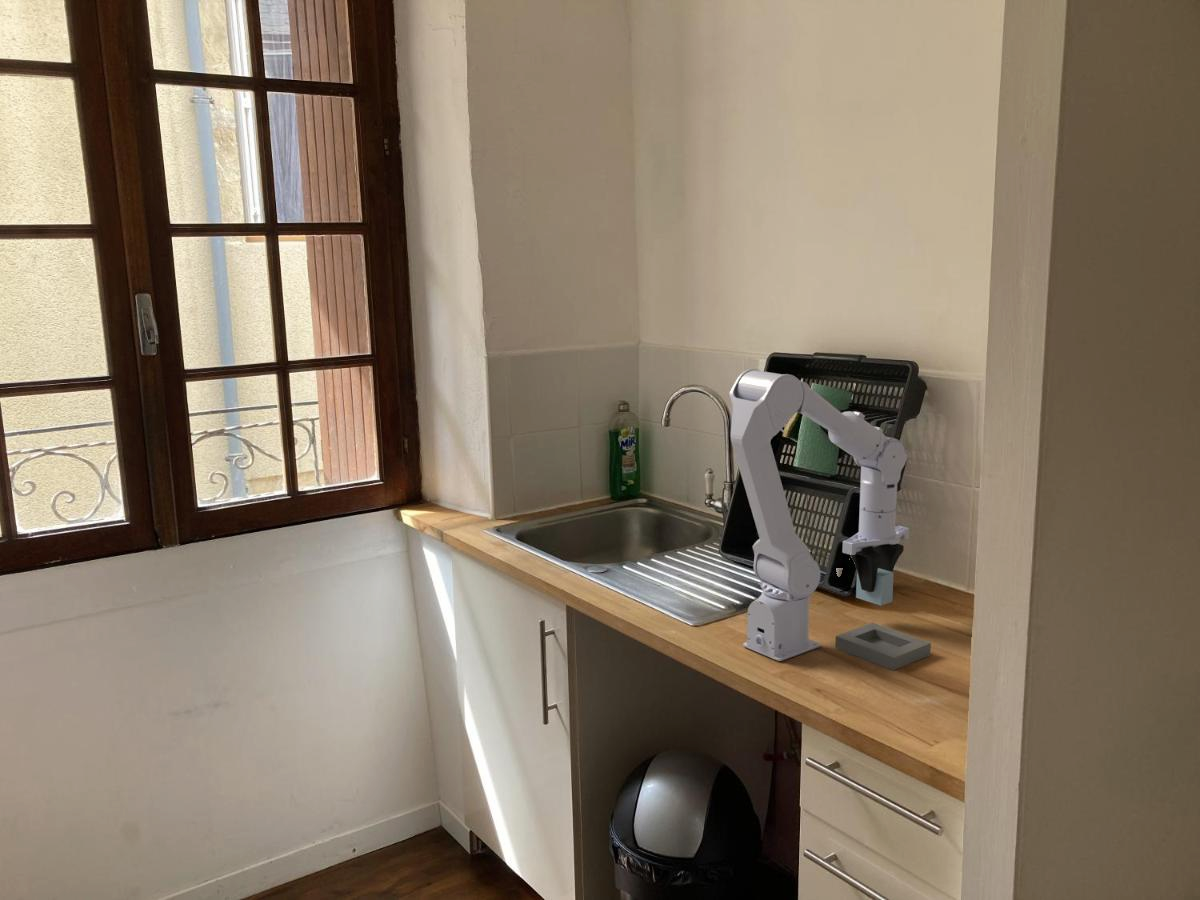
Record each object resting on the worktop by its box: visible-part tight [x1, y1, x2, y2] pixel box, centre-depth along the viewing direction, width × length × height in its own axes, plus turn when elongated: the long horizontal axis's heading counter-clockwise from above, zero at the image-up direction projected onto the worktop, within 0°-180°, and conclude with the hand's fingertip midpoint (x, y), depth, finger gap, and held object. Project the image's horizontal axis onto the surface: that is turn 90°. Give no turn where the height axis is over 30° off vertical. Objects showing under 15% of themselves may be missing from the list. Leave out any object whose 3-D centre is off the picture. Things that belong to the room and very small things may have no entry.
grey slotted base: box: [834, 622, 932, 671], centre depth 154 cm, size 9×11×2 cm
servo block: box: [855, 568, 895, 606], centre depth 164 cm, size 3×5×5 cm, turn 37°
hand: (874, 588), depth 164 cm, fingers closed on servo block, 3 cm apart
